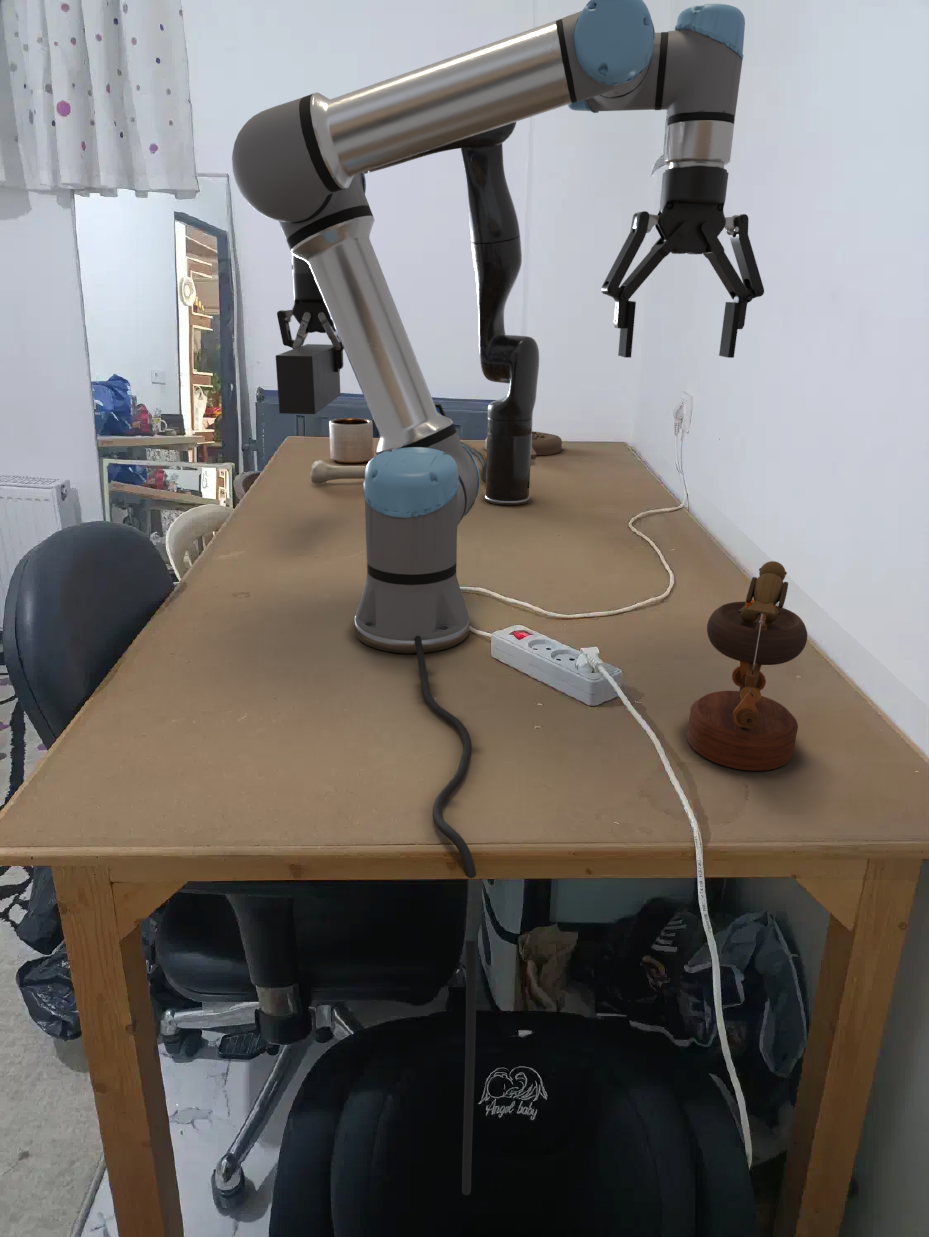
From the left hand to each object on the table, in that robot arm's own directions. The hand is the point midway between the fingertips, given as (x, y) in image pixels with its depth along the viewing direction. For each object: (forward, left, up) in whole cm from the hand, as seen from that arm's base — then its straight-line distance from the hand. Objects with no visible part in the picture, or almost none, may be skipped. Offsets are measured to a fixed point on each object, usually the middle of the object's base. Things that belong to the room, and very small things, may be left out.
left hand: (675, 357), depth 107 cm
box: (+34, +57, -12) cm, 68 cm away
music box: (-35, -6, -35) cm, 50 cm away
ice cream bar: (+111, +21, -35) cm, 118 cm away
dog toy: (+71, +58, -35) cm, 98 cm away
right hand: (+42, +58, -8) cm, 71 cm away
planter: (+96, +65, -35) cm, 121 cm away
